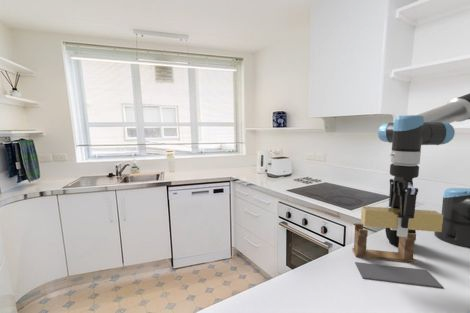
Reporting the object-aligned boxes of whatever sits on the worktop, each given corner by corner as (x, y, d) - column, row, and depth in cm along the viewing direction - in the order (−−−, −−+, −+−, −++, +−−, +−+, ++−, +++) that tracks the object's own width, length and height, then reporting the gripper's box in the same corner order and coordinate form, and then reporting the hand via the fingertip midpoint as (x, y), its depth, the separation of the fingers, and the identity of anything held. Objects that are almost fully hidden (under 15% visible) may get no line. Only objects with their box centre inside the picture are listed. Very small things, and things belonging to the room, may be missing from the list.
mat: (426, 270, 80) (426, 269, 80) (443, 288, 71) (443, 287, 71) (354, 263, 85) (355, 262, 85) (362, 278, 77) (362, 277, 76)
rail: (433, 226, 76) (435, 210, 75) (441, 232, 72) (443, 215, 71) (360, 221, 81) (361, 206, 80) (364, 225, 77) (365, 210, 76)
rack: (406, 254, 90) (409, 227, 89) (415, 263, 84) (418, 234, 83) (351, 249, 95) (353, 223, 93) (356, 257, 89) (357, 229, 87)
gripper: (380, 160, 83) (376, 221, 86) (404, 168, 66) (397, 244, 69) (404, 160, 81) (399, 223, 84) (434, 169, 64) (426, 247, 67)
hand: (398, 232), depth 76 cm, fingers closed on rail, 4 cm apart
